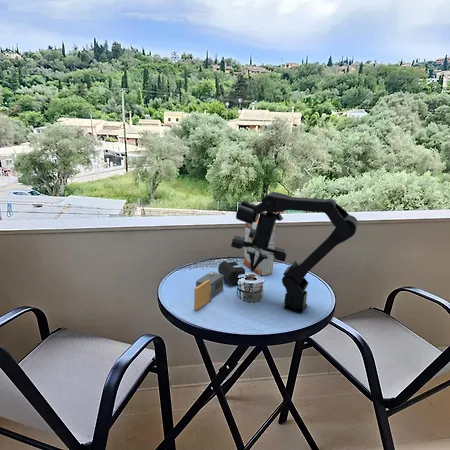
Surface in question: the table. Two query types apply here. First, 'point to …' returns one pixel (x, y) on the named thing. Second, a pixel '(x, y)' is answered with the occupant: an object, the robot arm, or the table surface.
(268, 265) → the cracker box
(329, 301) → the table surface
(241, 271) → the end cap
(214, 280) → the block
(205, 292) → the door
